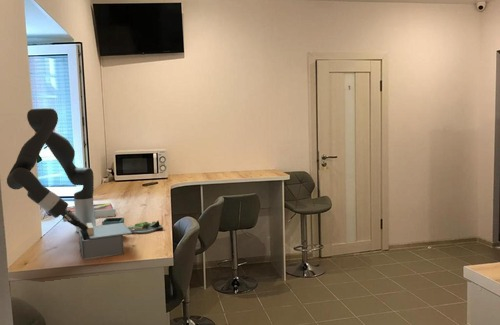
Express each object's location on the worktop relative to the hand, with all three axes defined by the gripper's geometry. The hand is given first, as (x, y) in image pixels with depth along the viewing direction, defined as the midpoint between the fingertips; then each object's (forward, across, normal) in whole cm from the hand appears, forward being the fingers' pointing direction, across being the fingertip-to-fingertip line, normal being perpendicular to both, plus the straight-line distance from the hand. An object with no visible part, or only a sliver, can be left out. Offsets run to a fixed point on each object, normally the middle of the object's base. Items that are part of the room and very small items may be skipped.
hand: (86, 229), depth 177 cm
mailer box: (+11, 0, +3) cm, 12 cm away
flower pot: (+17, +20, -2) cm, 26 cm away
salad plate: (+30, +28, -14) cm, 43 cm away
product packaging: (+14, +82, +2) cm, 83 cm away
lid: (+8, 0, -5) cm, 9 cm away
